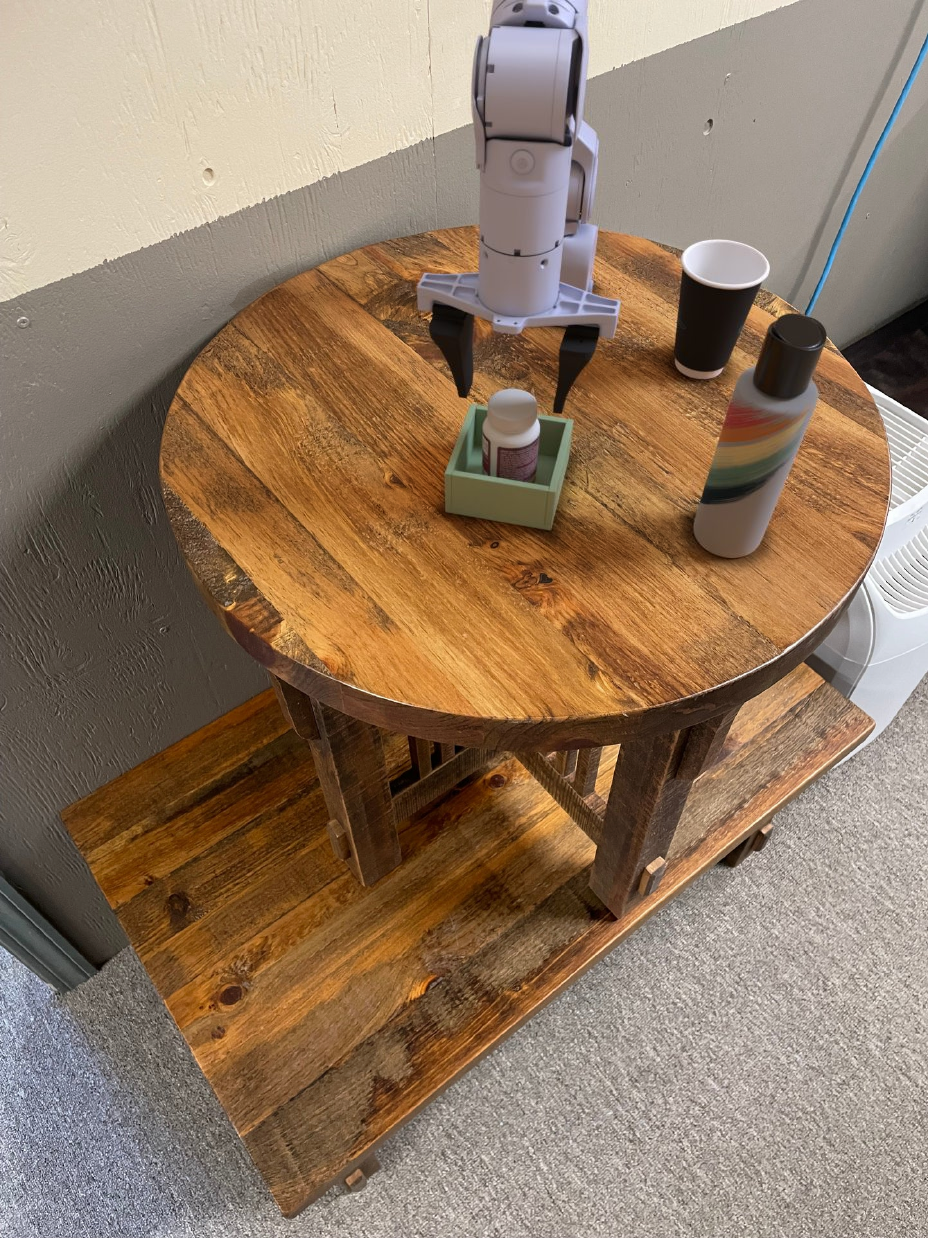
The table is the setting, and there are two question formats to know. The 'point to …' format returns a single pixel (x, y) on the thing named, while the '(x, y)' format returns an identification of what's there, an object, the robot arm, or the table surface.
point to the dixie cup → (714, 303)
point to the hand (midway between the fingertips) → (512, 397)
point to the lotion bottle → (760, 438)
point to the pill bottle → (511, 436)
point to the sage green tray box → (506, 496)
